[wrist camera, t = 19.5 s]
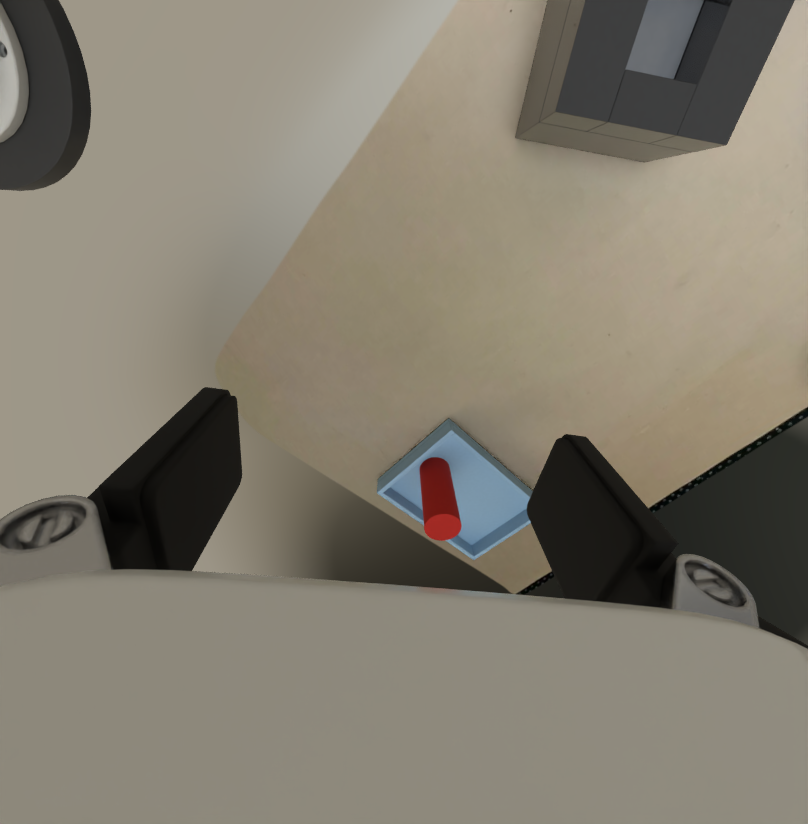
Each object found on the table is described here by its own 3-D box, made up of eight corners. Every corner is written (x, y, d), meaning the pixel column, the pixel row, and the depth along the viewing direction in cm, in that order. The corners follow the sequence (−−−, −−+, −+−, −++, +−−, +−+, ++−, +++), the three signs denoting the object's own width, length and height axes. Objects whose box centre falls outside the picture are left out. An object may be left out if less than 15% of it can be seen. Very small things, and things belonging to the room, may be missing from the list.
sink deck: (514, 138, 31) (555, 111, 23) (555, -32, 26) (623, -141, 18) (644, 162, 32) (726, 145, 24) (706, 3, 27) (835, -85, 19)
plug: (417, 479, 48) (421, 538, 39) (422, 455, 46) (427, 512, 37) (446, 482, 48) (457, 542, 39) (452, 458, 46) (465, 515, 37)
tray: (377, 479, 49) (376, 493, 46) (448, 417, 44) (451, 429, 42) (470, 545, 55) (473, 560, 53) (540, 497, 51) (547, 512, 48)
